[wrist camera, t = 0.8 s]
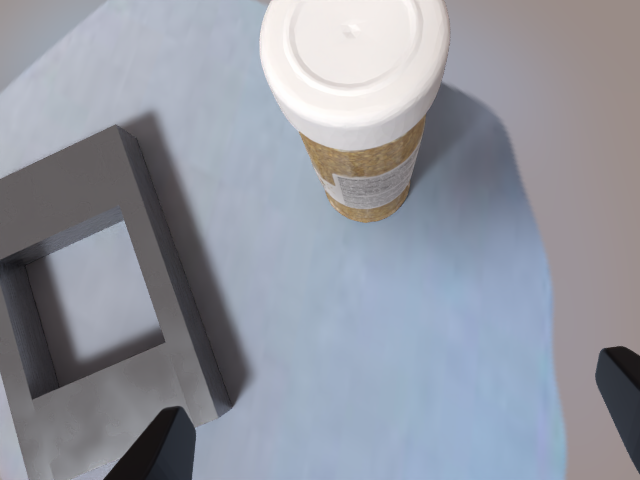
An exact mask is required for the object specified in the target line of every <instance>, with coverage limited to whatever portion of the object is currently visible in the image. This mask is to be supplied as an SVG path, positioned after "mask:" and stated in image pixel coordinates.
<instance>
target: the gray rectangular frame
mask: <svg viewBox="0 0 640 480" xmlns="http://www.w3.org/2000/svg"><path fill="white" fill-rule="evenodd" d="M123 220H124V221H125V224H126V227H127V230H128V232H129V235H130V238H131V241H132V244H133V247H134V250H135V253H136V256H137V259H138V262H139V265H140V268H141V271H142V274H143V277H144V280H145V283H146V286H147V289H148V292H149V295H150V298H151V301H152V304H153V307H154V309H155V312H156V315H157V318H158V321H159V324H160V327H161V330H162V333H163V336H164V339H165V343H163V344H161V345H158V346H156V347H154V348H151V349H149V350H147V351H144V352H142V353H140V354H137V355H135V356H133V357H130V358H128V359H126V360H123V361H121V362H119V363H116V364H114V365H112V366H110V367H107V368H105V369H103V370H100V371H98V372H96V373H93V374H91V375H89V376H86V377H84V378H82V379H79V380H77V381H75V382H72V383H70V384H68V385H65V386H63V387H61V388H59V385H58V382H57V378H56V375H55V371H54V368H53V364H52V361H51V357H50V354H49V350H48V347H47V343H46V340H45V336H44V333H43V329H42V326H41V322H40V319H39V315H38V312H37V308H36V305H35V301H34V298H33V294H32V291H31V287H30V284H29V280H28V277H27V273H26V270H25V266H24V265H26V264H28V263H31V262H33V261H35V260H37V259H39V258H42V257H44V256H46V255H48V254H50V253H53V252H55V251H57V250H59V249H61V248H63V247H66V246H68V245H70V244H72V243H74V242H77V241H79V240H81V239H83V238H85V237H88V236H90V235H92V234H94V233H96V232H99V231H101V230H103V229H105V228H107V227H110V226H112V225H114V224H116V223H118V222H121V221H123ZM0 372H1V376H2V380H3V384H4V388H5V391H6V395H7V399H8V403H9V407H10V410H11V414H12V418H13V422H14V425H15V429H16V433H17V437H18V441H19V444H20V448H21V452H22V456H23V460H24V463H25V467H26V471H27V475H28V479H29V480H70V479H72V478H75V477H77V476H80V475H82V474H84V473H87V472H89V471H92V470H94V469H97V468H99V467H101V466H104V465H106V464H109V463H111V462H113V461H116V460H118V459H121V458H122V457H123V455H124V454H125V453H126V452H127V451H128V449H129V448H130V447H131V446H132V445H133V443H134V442H135V441H136V440H137V439H138V437H139V436H140V435H141V434H142V433H143V431H144V430H145V429H146V428H147V427H148V425H149V424H150V423H151V422H152V421H153V419H154V418H155V417H156V416H157V415H158V413H159V412H160V411H161V410H162V409H164V408H166V407H172V406H181V407H183V408H184V409H185V411H186V413H187V415H188V416H189V418H190V420H191V421H192V423H193V425H194V427H195V428H196V427H198V426H201V425H203V424H205V423H208V422H210V421H213V420H215V419H218V418H219V417H221V416H222V415H223V414H225V413H226V412H228V411H229V410H230V409H232V405H231V403H230V400H229V397H228V394H227V391H226V389H225V386H224V383H223V380H222V377H221V374H220V372H219V369H218V366H217V363H216V360H215V358H214V355H213V352H212V349H211V346H210V344H209V341H208V338H207V335H206V332H205V330H204V327H203V324H202V321H201V318H200V316H199V313H198V310H197V307H196V304H195V301H194V299H193V296H192V293H191V290H190V287H189V285H188V282H187V279H186V276H185V273H184V271H183V268H182V265H181V262H180V259H179V257H178V254H177V251H176V248H175V245H174V243H173V240H172V237H171V234H170V231H169V228H168V226H167V223H166V220H165V217H164V214H163V212H162V209H161V206H160V203H159V200H158V198H157V195H156V192H155V189H154V186H153V184H152V181H151V178H150V175H149V172H148V170H147V167H146V164H145V161H144V158H143V155H142V153H141V150H140V147H139V144H138V141H137V139H136V138H135V137H134V136H132V135H131V134H129V133H128V132H126V131H125V130H123V129H122V128H120V127H119V126H117V125H114V126H112V127H110V128H107V129H105V130H103V131H101V132H99V133H97V134H95V135H93V136H90V137H88V138H86V139H84V140H82V141H80V142H78V143H76V144H74V145H71V146H69V147H67V148H65V149H63V150H61V151H59V152H57V153H55V154H52V155H50V156H48V157H46V158H44V159H42V160H40V161H38V162H35V163H33V164H31V165H29V166H27V167H25V168H23V169H21V170H19V171H16V172H14V173H12V174H10V175H8V176H6V177H4V178H2V179H0Z"/></svg>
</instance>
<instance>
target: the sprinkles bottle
mask: <svg viewBox="0 0 640 480" xmlns="http://www.w3.org/2000/svg"><path fill="white" fill-rule="evenodd" d="M259 41H260V57H261V63H262V67H263V70H264V74H265V77H266V79H267V81H268V84H269V86H270V88H271V91H272V93H273V95H274V97H275V99H276V101H277V103H278V104H279V106H280V108H281V110H282V112H283V114H284V115H285V117H286V118H287V119H288V121H289V122H290V123H291V124H292V125H293V126H294V127H295V128H296V129H297V130H298V131H299V133H300V135H301V137H302V140H303V142H304V144H305V148H306V150H307V152H308V154H309V156H310V159H311V162H312V165H313V167H314V169H315V171H316V173H317V175H318V177H319V180H320V182H321V183H322V185H323V187H324V189H325V192H326V195H327V197H328V199H329V201H330V203H331V205H332V206H333V207H334V208H335V209H336V210H337V211H338V212H339V213H340V214H342V215H343V216H345V217H347V218H349V219H351V220H355V221H359V222H364V223H367V222H374V221H379V220H382V219H385V218H387V217H388V216H390V215H392V214H393V213H395V212H396V211H397V210H398V208H399V207H400V206H401V205H402V204H403V202H404V201H405V199H406V197H407V194H408V192H409V188H410V178H411V176H412V172H413V168H414V165H415V162H416V158H417V154H418V151H419V147H420V143H421V140H422V136H423V132H424V127H425V120H426V112H427V111H428V110H429V108H430V107H431V105H432V103H433V101H434V100H435V98H436V95H437V93H438V90H439V88H440V84H441V81H442V77H443V74H444V70H445V65H446V61H447V56H448V50H449V45H450V21H449V16H448V12H447V8H446V5H445V2H444V0H271V2H270V4H269V6H268V8H267V11H266V13H265V16H264V19H263V22H262V27H261V32H260V40H259Z"/></svg>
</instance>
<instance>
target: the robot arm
mask: <svg viewBox="0 0 640 480" xmlns="http://www.w3.org/2000/svg"><path fill="white" fill-rule="evenodd" d="M595 377H596V383H597V386H598V388H599V391H600V393H601V395H602V397H603V399H604V402H605V404H606V406H607V408H608V410H609V413H610V414H611V417H612V419H613V421H614V423H615V426H616V428H617V430H618V432H619V434H620V437H621V439H622V441H623V443H624V445H625V447H626V449H627V452H628V453H629V455H630V458H631V460H632V461H633V463H634V465H635V467H636V469H637V470H638V472H639V474H640V356H639V355H638V354H636V353H635V352H633V351H631V350H630V349H628V348H626V347H623V346H617V347H610V348H604V349H602V350H601V351H600V354H599V359H598V363H597V368H596V373H595ZM195 442H196V430H195V427H194V425H193V423H192V421H191V420H190V418H189V416H188V415H187V413H186V411H185V409H184V408H183V407H181V406H172V407H166V408H164V409H162V410H161V411H160V412H159V413H158V415H157V416H156V417H155V418H154V419H153V421H152V422H151V423H150V424H149V425H148V427H147V428H146V429H145V430H144V431H143V433H142V434H141V435H140V436H139V437H138V439H137V440H136V441H135V442H134V443H133V445H132V446H131V447H130V448H129V449H128V451H127V452H126V453H125V454H124V455H123V457H122V458H121V459H120V460H119V461H118V463H117V464H116V465H115V466H114V467H113V469H112V470H111V471H110V472H109V473H108V475H107V476H106V477H105V478H104V479H103V480H192V472H193V462H194V452H195Z"/></svg>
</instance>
